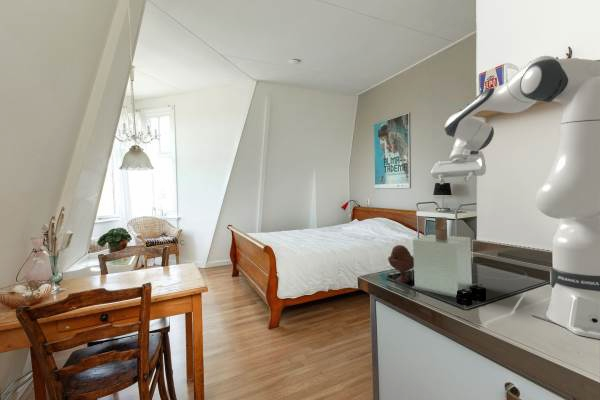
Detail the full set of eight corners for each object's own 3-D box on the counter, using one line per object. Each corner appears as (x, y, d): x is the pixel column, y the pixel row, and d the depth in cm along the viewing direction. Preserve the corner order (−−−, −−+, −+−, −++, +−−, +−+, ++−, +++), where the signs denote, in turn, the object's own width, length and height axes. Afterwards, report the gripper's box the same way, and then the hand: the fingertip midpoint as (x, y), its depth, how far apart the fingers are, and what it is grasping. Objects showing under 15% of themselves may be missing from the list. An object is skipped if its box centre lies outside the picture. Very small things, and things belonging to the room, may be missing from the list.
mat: (475, 286, 105) (475, 284, 105) (460, 299, 94) (460, 298, 94) (429, 277, 118) (429, 276, 118) (411, 288, 106) (410, 287, 106)
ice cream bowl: (420, 285, 109) (418, 247, 109) (390, 285, 111) (388, 247, 111) (414, 277, 119) (413, 242, 119) (387, 276, 122) (386, 242, 121)
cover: (471, 285, 105) (469, 216, 104) (458, 296, 95) (455, 220, 94) (431, 277, 116) (428, 215, 115) (414, 287, 106) (412, 218, 105)
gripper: (433, 156, 127) (425, 178, 120) (486, 150, 112) (480, 175, 105) (437, 167, 130) (429, 188, 123) (489, 162, 115) (483, 186, 108)
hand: (453, 182), depth 114 cm, fingers open, 8 cm apart
